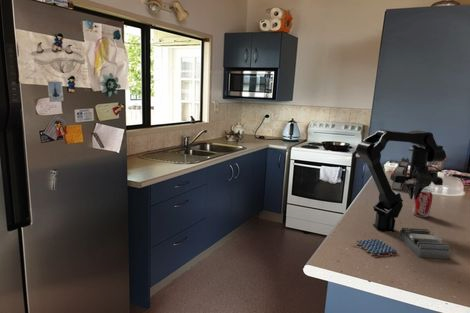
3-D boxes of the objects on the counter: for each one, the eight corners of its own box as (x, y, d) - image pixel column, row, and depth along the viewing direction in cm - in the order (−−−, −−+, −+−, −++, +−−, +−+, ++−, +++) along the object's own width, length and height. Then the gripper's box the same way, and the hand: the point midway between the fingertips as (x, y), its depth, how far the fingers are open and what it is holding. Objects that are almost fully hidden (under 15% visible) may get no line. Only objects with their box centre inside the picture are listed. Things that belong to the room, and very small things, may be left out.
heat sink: (418, 257, 119) (420, 244, 118) (398, 237, 134) (400, 226, 134) (448, 259, 119) (451, 246, 118) (425, 238, 134) (427, 227, 133)
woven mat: (373, 259, 117) (374, 253, 116) (354, 245, 127) (354, 240, 126) (399, 256, 120) (400, 251, 119) (378, 243, 130) (379, 238, 129)
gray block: (412, 241, 124) (412, 237, 124) (406, 236, 128) (407, 233, 128) (441, 243, 124) (442, 239, 124) (435, 238, 128) (436, 235, 128)
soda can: (411, 216, 159) (415, 190, 157) (412, 211, 165) (415, 187, 163) (429, 219, 156) (433, 193, 153) (429, 214, 162) (433, 189, 160)
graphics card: (399, 178, 230) (402, 157, 227) (406, 179, 227) (409, 158, 224) (391, 190, 202) (394, 166, 199) (400, 191, 200) (403, 167, 197)
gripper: (404, 165, 133) (398, 204, 136) (453, 168, 132) (447, 207, 135) (392, 159, 144) (387, 195, 147) (438, 161, 143) (432, 198, 146)
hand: (413, 199), depth 144 cm, fingers closed
